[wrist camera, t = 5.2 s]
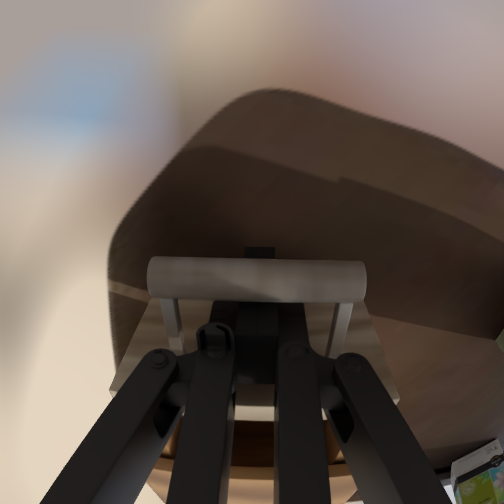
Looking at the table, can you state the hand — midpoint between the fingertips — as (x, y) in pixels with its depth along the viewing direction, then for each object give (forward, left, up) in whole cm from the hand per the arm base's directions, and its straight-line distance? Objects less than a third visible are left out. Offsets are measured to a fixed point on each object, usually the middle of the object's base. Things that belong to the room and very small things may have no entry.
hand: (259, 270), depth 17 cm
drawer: (+7, -2, -1) cm, 7 cm away
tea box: (+53, +30, -2) cm, 60 cm away
